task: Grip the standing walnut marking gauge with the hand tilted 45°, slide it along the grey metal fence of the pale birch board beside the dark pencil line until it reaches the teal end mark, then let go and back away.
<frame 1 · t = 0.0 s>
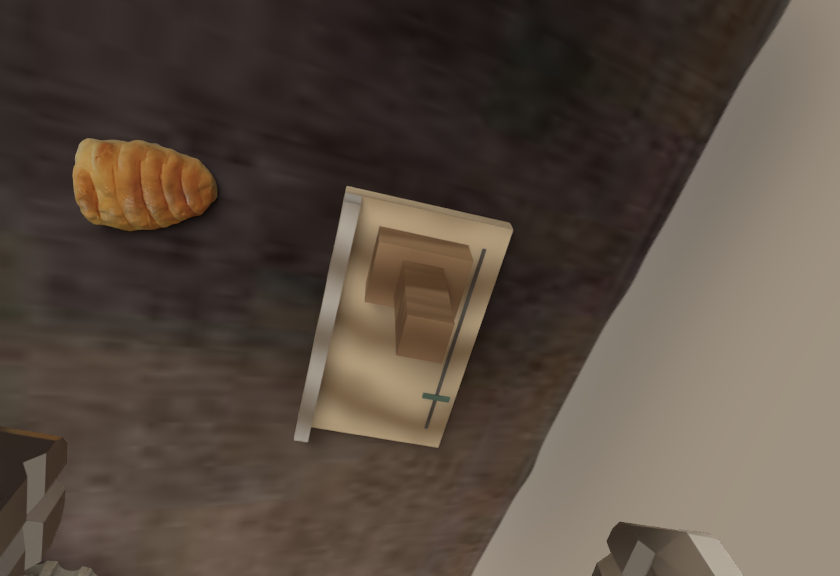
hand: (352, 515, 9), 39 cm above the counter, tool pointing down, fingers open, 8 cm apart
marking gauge: (416, 264, 49), point 1 cm above the counter, touching birch board
birch board: (396, 325, 53), on the counter
pastry: (145, 176, 46), on the counter
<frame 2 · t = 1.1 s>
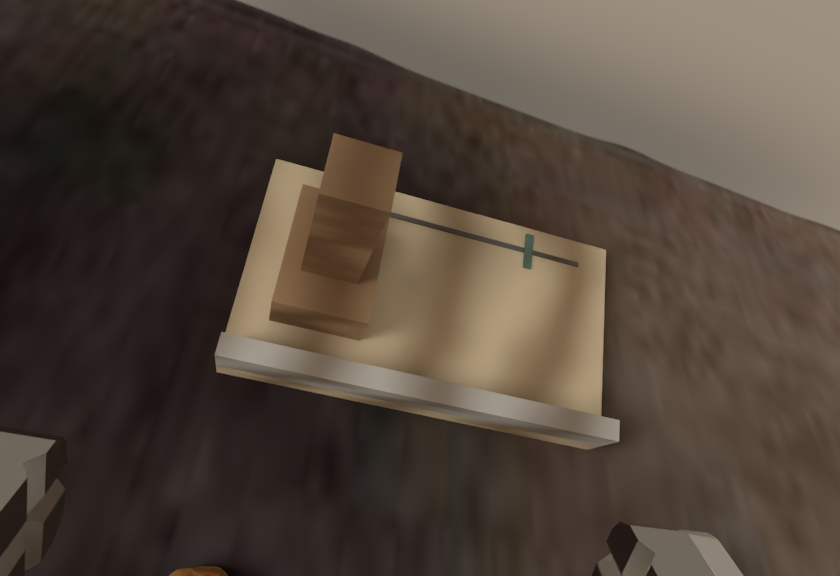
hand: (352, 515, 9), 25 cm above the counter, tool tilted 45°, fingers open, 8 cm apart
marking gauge: (327, 273, 36), point 1 cm above the counter, touching birch board
birch board: (428, 308, 38), on the counter
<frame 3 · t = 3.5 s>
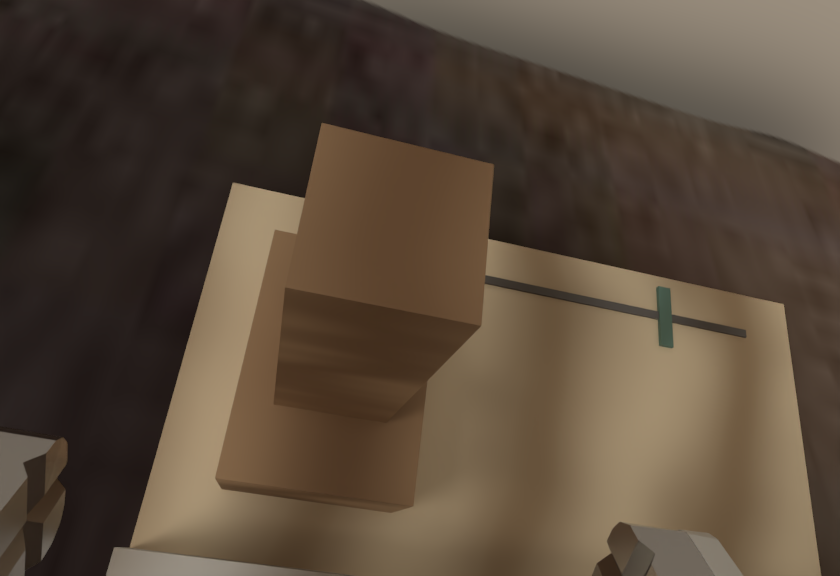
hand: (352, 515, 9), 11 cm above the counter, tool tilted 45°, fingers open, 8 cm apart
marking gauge: (328, 385, 20), point 1 cm above the counter, touching birch board
birch board: (505, 427, 22), on the counter
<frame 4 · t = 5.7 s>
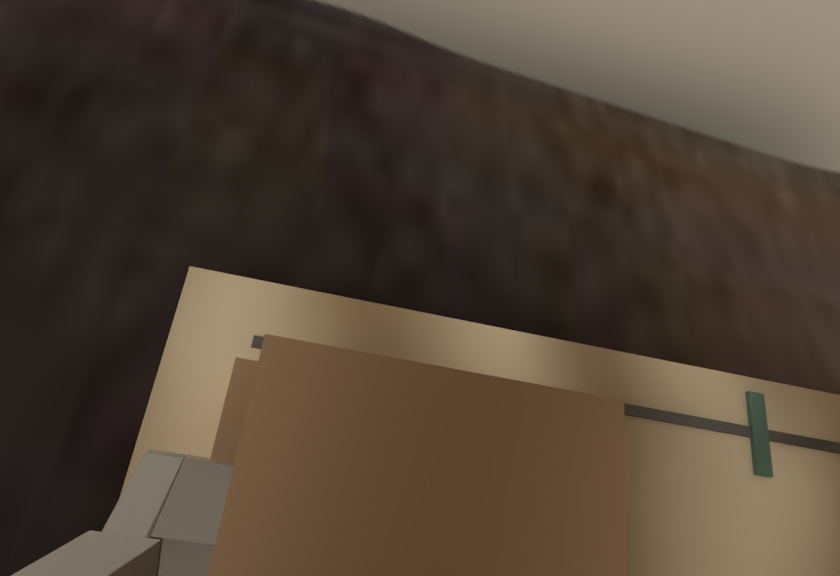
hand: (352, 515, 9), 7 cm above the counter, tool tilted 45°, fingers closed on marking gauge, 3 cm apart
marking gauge: (315, 559, 14), point 2 cm above the counter, touching birch board, gripper
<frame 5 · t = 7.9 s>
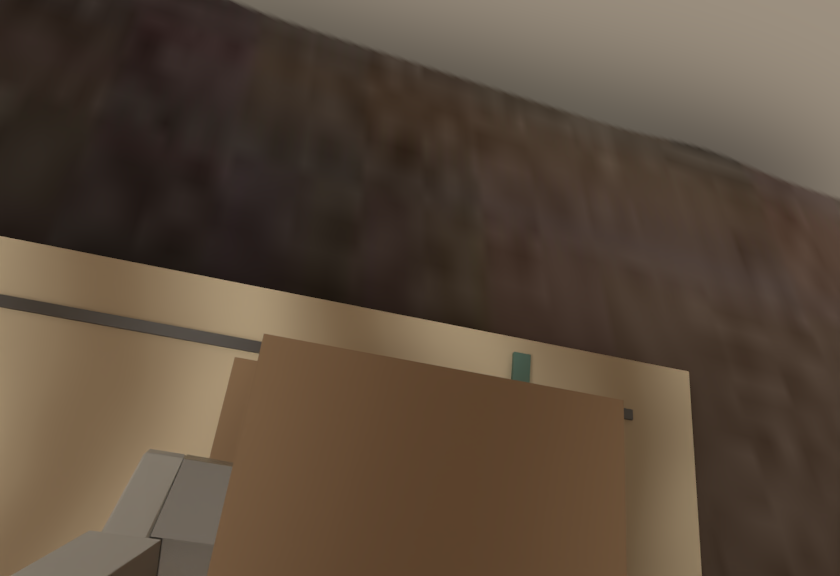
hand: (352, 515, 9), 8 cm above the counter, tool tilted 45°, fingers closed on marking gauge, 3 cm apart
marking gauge: (314, 559, 14), point 2 cm above the counter, touching gripper
birch board: (287, 552, 16), on the counter
when the fingers open (7 cm above the counter, at t = 10.1 s): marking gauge stays where it is, resting on birch board.
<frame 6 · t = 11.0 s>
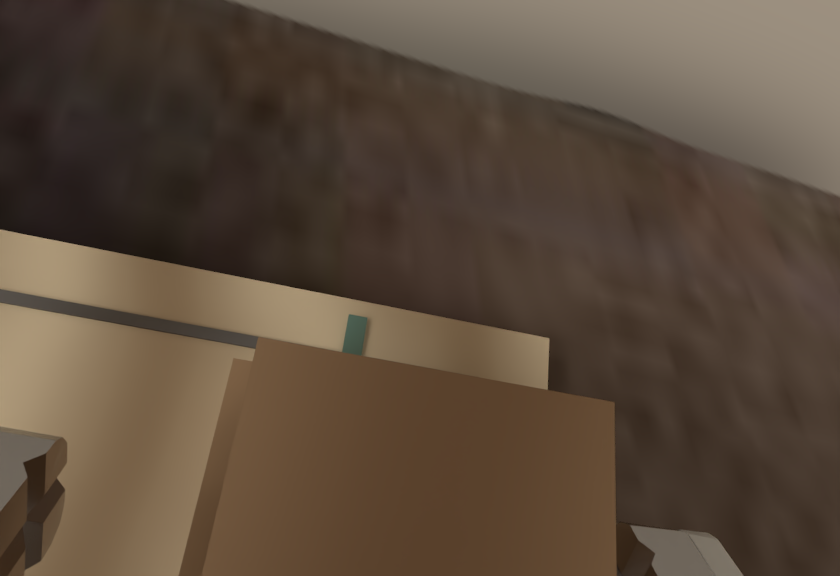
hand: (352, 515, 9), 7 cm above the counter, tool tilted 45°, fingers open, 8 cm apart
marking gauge: (313, 559, 14), point 1 cm above the counter, touching birch board
birch board: (80, 528, 15), on the counter
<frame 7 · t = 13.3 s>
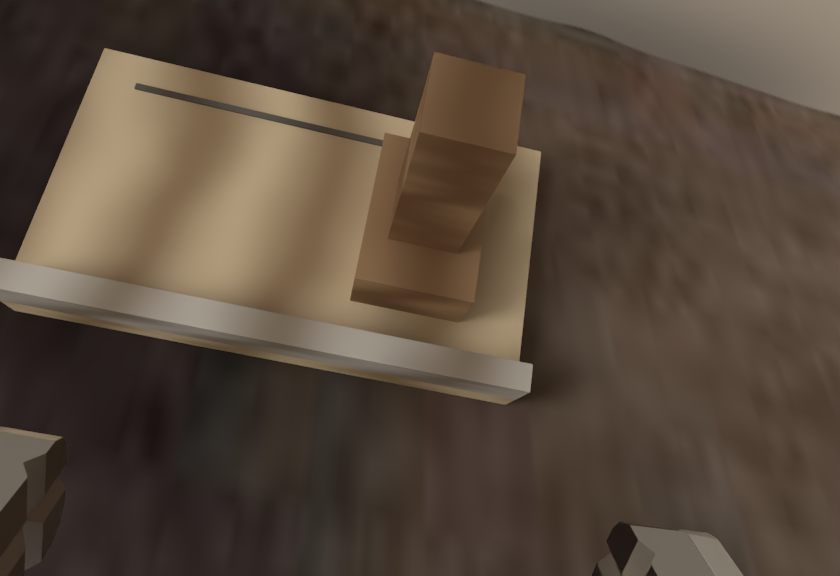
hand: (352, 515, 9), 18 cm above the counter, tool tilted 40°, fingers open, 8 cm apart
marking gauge: (416, 242, 29), point 1 cm above the counter, touching birch board
birch board: (302, 230, 30), on the counter
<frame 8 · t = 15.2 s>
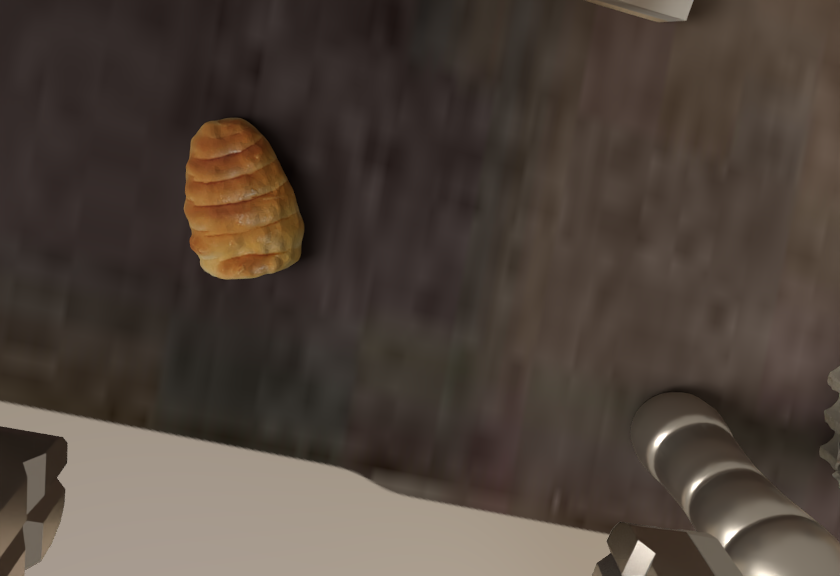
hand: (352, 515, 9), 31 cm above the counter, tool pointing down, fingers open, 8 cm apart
plastic bottle: (662, 416, 47), on the counter
pastry: (244, 204, 39), on the counter
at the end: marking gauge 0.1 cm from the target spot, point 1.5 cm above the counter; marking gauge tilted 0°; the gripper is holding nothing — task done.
